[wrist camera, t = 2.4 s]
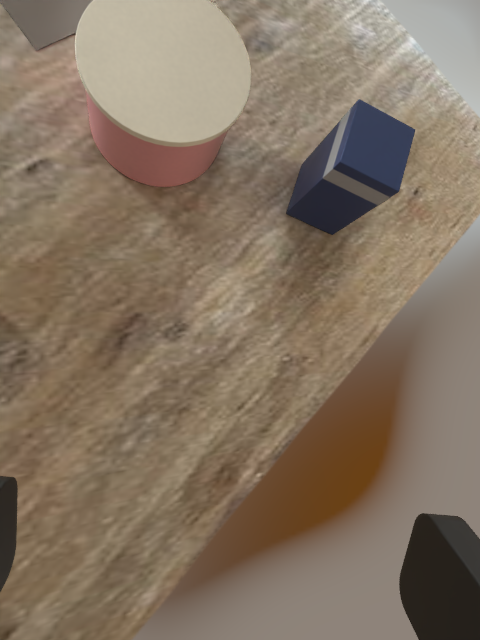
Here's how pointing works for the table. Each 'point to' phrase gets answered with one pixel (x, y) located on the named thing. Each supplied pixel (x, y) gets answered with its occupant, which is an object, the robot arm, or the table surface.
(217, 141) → the yogurt tub
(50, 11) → the platform
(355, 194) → the carton
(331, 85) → the table surface
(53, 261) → the table surface
